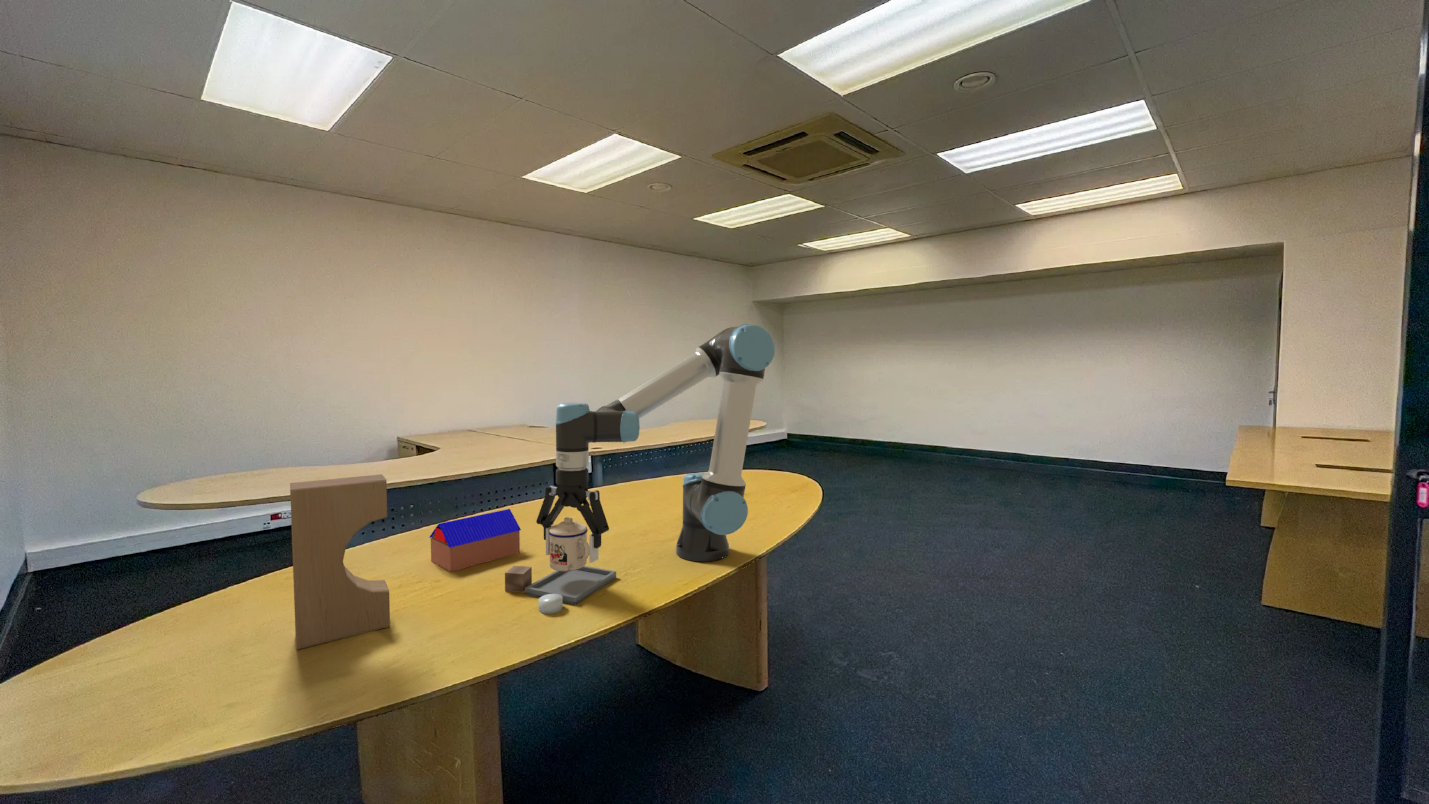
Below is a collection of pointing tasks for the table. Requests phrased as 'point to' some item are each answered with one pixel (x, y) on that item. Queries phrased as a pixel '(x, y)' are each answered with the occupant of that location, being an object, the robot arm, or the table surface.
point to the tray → (571, 583)
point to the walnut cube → (518, 578)
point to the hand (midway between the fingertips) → (571, 557)
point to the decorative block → (334, 559)
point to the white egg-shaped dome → (550, 603)
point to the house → (475, 540)
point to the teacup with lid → (568, 545)
